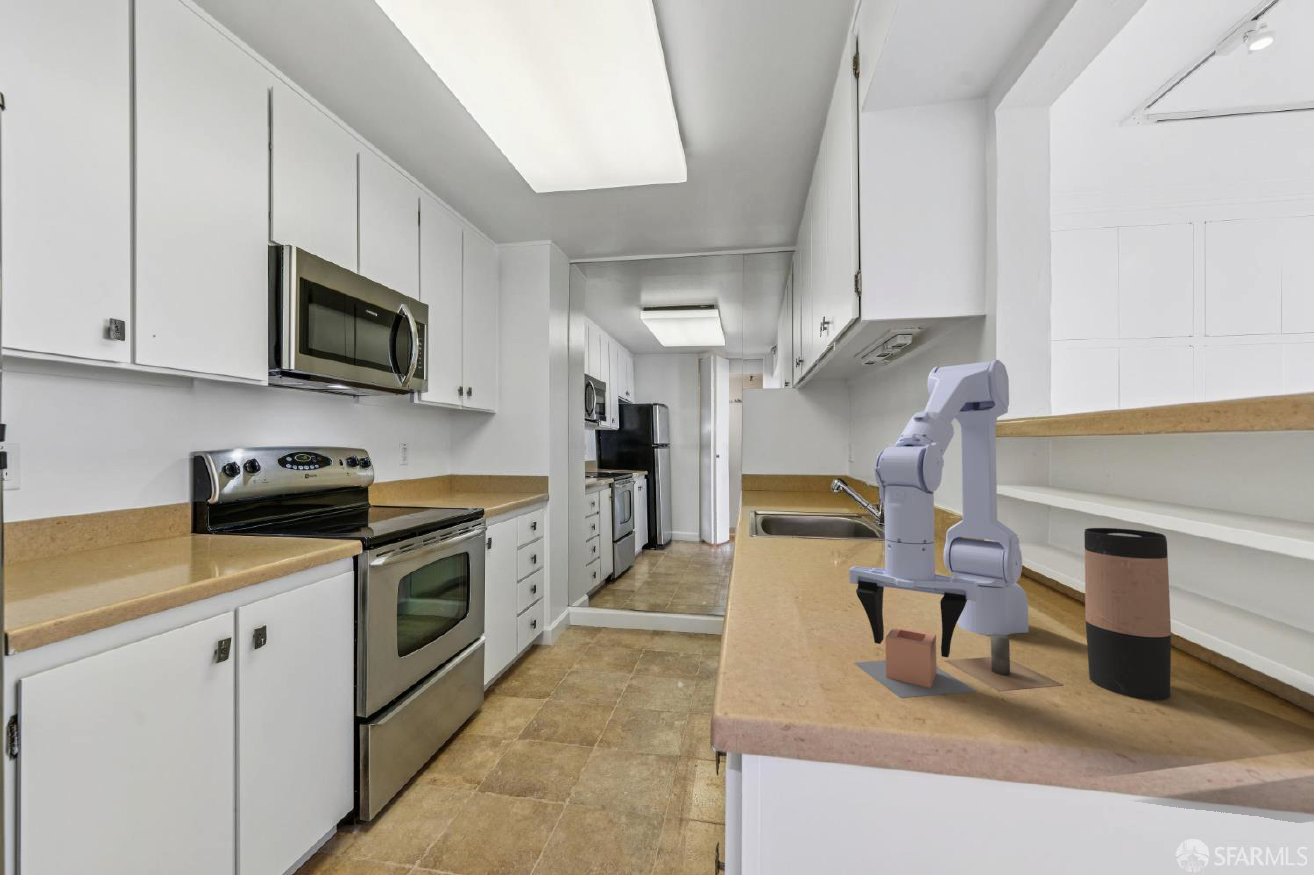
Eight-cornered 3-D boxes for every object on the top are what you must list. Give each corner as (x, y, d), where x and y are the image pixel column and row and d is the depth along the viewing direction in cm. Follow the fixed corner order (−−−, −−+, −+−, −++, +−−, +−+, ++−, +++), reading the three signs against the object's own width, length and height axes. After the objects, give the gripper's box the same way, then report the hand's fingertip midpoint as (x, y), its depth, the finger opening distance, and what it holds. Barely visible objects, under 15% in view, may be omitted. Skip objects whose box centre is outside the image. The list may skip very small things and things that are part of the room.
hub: (920, 668, 71) (919, 624, 71) (977, 703, 61) (976, 652, 61) (853, 673, 69) (853, 628, 69) (901, 710, 59) (900, 658, 59)
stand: (1002, 666, 71) (1001, 623, 71) (1063, 697, 62) (1062, 647, 63) (944, 671, 70) (943, 627, 70) (999, 703, 61) (998, 652, 61)
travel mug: (1071, 683, 66) (1067, 527, 67) (1132, 684, 66) (1128, 527, 66) (1123, 713, 58) (1118, 537, 59) (1193, 714, 58) (1187, 537, 59)
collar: (894, 663, 69) (893, 626, 69) (936, 673, 66) (935, 633, 66) (886, 677, 65) (885, 637, 65) (930, 687, 62) (929, 645, 62)
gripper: (842, 539, 66) (843, 645, 66) (973, 551, 58) (976, 672, 58) (856, 531, 72) (857, 629, 72) (977, 542, 64) (980, 652, 64)
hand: (911, 647), depth 65 cm, fingers open, 7 cm apart
